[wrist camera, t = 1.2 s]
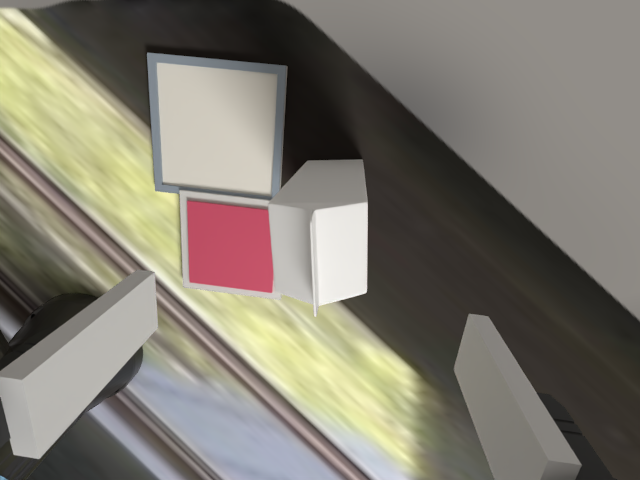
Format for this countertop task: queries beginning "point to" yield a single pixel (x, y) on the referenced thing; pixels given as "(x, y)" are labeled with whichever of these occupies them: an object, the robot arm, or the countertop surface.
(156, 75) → the marked square
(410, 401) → the countertop surface
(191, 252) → the ink pad
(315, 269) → the milk
